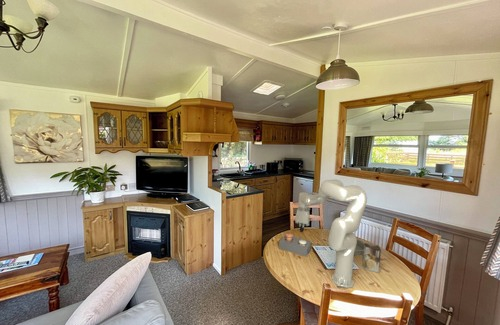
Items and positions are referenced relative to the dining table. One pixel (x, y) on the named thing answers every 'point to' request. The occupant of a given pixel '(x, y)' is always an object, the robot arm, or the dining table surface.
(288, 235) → the plunger terracotta
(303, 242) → the plunger white
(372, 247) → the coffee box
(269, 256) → the dining table surface
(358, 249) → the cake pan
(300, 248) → the console
